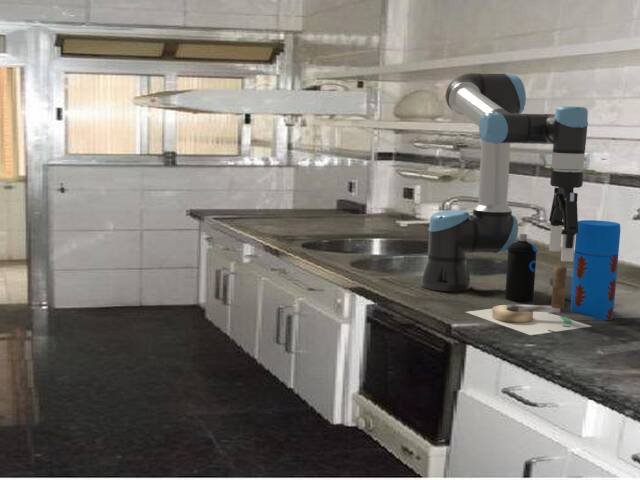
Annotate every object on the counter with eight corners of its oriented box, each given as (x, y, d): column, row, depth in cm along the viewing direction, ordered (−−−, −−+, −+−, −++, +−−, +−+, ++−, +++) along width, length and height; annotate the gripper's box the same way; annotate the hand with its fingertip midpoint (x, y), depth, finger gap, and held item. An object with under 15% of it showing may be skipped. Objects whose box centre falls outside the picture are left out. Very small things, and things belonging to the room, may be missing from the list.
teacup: (587, 295, 232) (589, 269, 231) (601, 303, 221) (603, 276, 220) (541, 294, 232) (542, 268, 230) (553, 303, 221) (555, 275, 220)
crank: (494, 321, 192) (497, 269, 190) (489, 311, 201) (492, 261, 199) (567, 324, 190) (571, 271, 188) (558, 314, 200) (562, 264, 198)
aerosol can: (505, 306, 215) (509, 235, 212) (502, 300, 223) (506, 231, 220) (535, 308, 214) (540, 236, 211) (531, 301, 222) (536, 232, 219)
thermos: (561, 313, 209) (568, 221, 205) (588, 309, 214) (595, 219, 210) (594, 322, 200) (602, 226, 196) (621, 318, 205) (629, 224, 201)
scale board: (464, 317, 202) (465, 311, 202) (526, 309, 212) (527, 303, 212) (531, 341, 181) (531, 334, 180) (596, 331, 191) (597, 325, 190)
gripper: (596, 175, 177) (588, 266, 181) (570, 167, 202) (564, 247, 205) (563, 174, 178) (556, 265, 181) (541, 166, 202) (535, 246, 206)
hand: (560, 256), depth 193 cm, fingers open, 13 cm apart
